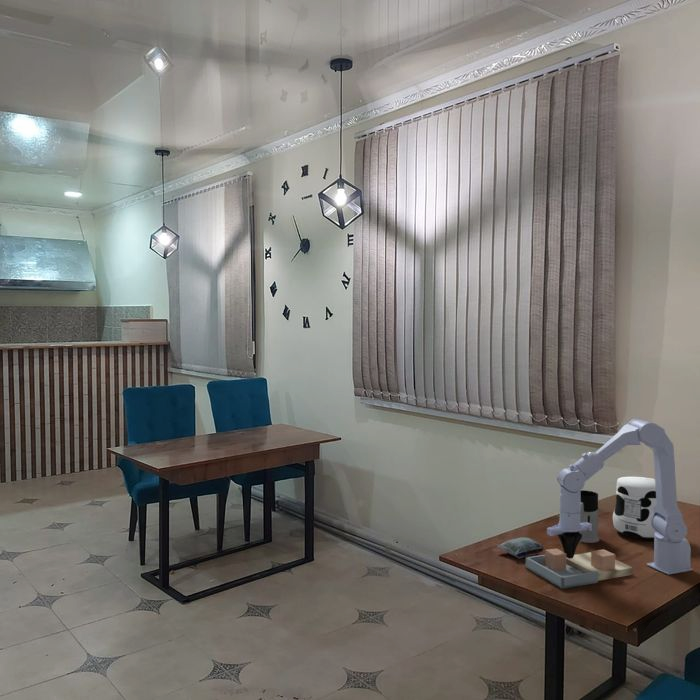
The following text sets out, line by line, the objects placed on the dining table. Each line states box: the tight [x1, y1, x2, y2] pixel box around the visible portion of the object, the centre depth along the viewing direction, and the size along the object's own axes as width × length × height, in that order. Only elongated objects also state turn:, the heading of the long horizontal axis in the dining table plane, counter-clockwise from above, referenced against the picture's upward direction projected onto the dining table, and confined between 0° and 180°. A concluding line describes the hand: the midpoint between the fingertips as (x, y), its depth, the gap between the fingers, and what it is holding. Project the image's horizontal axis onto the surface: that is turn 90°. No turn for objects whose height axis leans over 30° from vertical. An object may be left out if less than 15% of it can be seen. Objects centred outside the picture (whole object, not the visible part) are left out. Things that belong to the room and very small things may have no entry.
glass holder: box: [579, 489, 600, 544], centre depth 210 cm, size 9×14×15 cm, turn 149°
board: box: [566, 551, 634, 582], centre depth 186 cm, size 13×14×2 cm
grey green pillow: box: [496, 536, 545, 559], centre depth 198 cm, size 9×12×5 cm
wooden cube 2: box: [590, 548, 616, 571], centre depth 182 cm, size 4×4×4 cm
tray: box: [525, 554, 599, 590], centre depth 182 cm, size 12×16×3 cm
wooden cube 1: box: [544, 548, 566, 571], centre depth 186 cm, size 4×4×4 cm
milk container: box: [612, 476, 657, 540], centre depth 216 cm, size 17×17×18 cm
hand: (569, 557), depth 187 cm, fingers closed
